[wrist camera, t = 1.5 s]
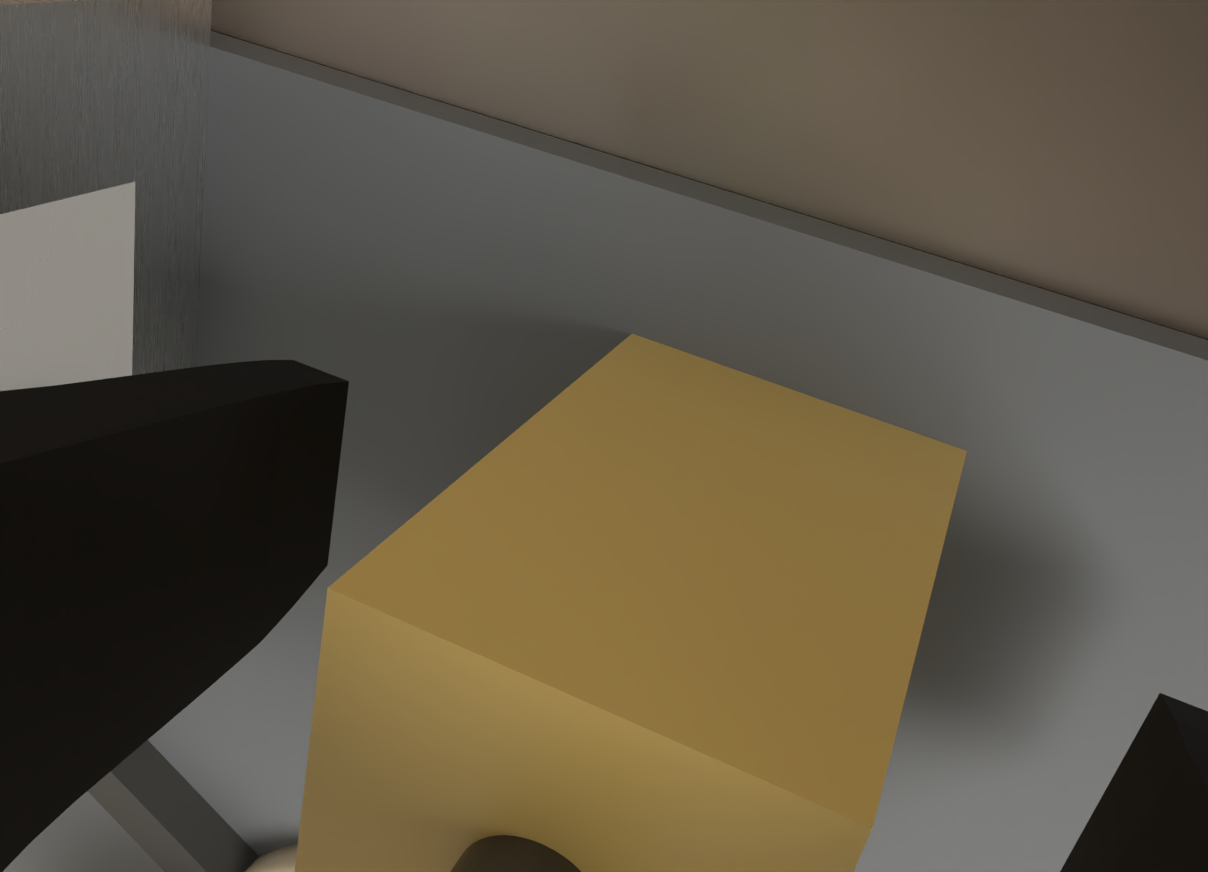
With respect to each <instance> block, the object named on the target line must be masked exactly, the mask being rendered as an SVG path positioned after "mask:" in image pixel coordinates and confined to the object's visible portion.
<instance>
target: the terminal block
mask: <svg viewBox="0 0 1208 872" xmlns="http://www.w3.org/2000/svg"><path fill="white" fill-rule="evenodd" d="M211 14H212V0H0V391H6V390H16V389H25V388H35V387H44V386H54V385H62V384H70V383H78V382H85V381H93V380H100V379H108V378H115V377H123V376H130V375H138V374H146V373H153V372H161V371H168V370H176V369H183V368H191V367H195V364H196V342H197V320H198V299H199V277H200V255H201V233H202V211H203V189H204V167H205V145H206V123H207V101H208V80H209V58H210V36H211Z"/></svg>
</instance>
